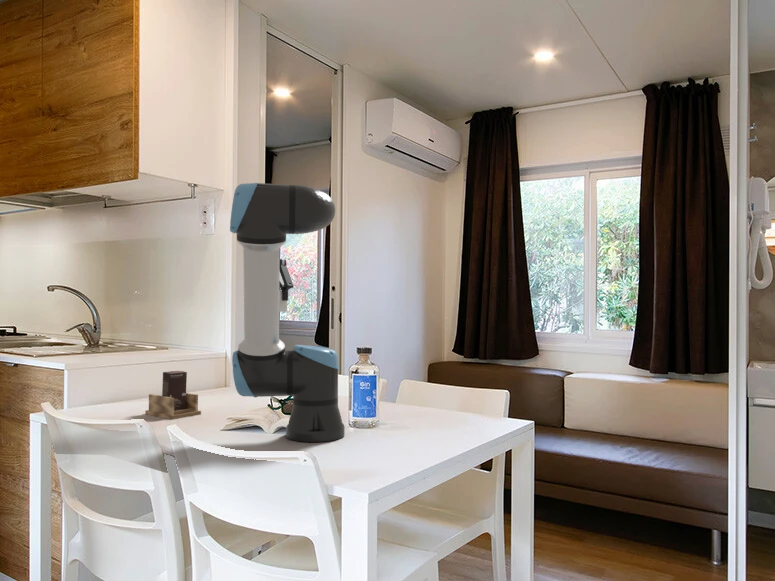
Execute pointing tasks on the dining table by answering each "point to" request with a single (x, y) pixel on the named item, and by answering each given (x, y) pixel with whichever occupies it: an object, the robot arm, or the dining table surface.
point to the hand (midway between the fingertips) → (267, 311)
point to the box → (175, 388)
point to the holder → (172, 407)
